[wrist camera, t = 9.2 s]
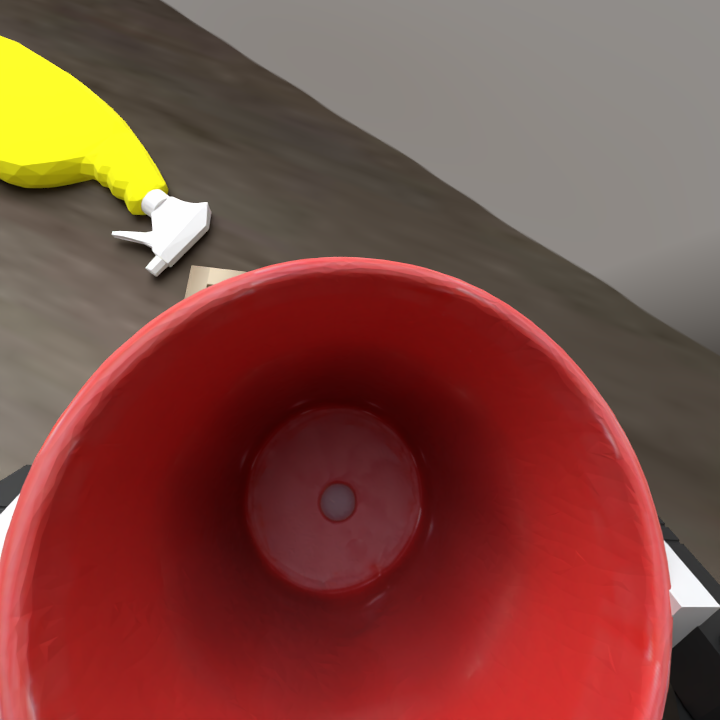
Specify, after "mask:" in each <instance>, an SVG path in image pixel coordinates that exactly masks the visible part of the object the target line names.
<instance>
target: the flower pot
mask: <svg viewBox="0 0 720 720" xmlns="http://www.w3.org/2000/svg"><path fill="white" fill-rule="evenodd" d="M670 589H671V582H670V575H669V568H668V561H667V555H666V550H665V545H664V539H663V534H662V530H661V526H660V523H659V519H658V516H657V512H656V508H655V505H654V502H653V499H652V496H651V492H650V489H649V486H648V483H647V481H646V478H645V476H644V473H643V471H642V468H641V466H640V463H639V461H638V458H637V456H636V454H635V452H634V450H633V448H632V446H631V444H630V442H629V440H628V438H627V436H626V434H625V432H624V431H623V429H622V427H621V426H620V424H619V422H618V420H617V419H616V417H615V415H614V413H613V412H612V410H611V409H610V407H609V406H608V404H607V403H606V402H605V400H604V399H603V398H602V396H601V395H600V393H599V392H598V391H597V389H596V388H595V386H594V385H593V384H592V383H591V381H590V380H589V379H588V378H587V376H586V375H585V374H584V373H583V371H582V370H581V369H580V368H579V367H578V366H577V364H576V363H575V362H574V361H573V360H572V359H571V358H570V357H569V356H568V354H567V353H566V352H565V351H564V350H563V349H562V348H561V347H560V346H559V345H557V344H556V343H555V342H554V341H553V340H552V339H551V338H550V337H549V336H548V335H547V334H546V333H544V332H543V331H542V330H541V329H540V328H539V327H537V326H536V325H535V324H534V323H533V322H532V321H530V320H529V319H528V318H526V317H525V316H523V315H522V314H521V313H519V312H518V311H516V310H515V309H514V308H512V307H511V306H509V305H508V304H506V303H505V302H503V301H501V300H499V299H498V298H496V297H494V296H492V295H491V294H489V293H487V292H486V291H484V290H482V289H479V288H477V287H475V286H473V285H471V284H468V283H466V282H464V281H462V280H460V279H457V278H455V277H452V276H449V275H446V274H443V273H440V272H436V271H433V270H430V269H427V268H423V267H419V266H415V265H410V264H405V263H400V262H394V261H388V260H381V259H370V258H359V257H324V258H312V259H301V260H295V261H289V262H284V263H279V264H275V265H270V266H267V267H263V268H260V269H257V270H253V271H250V272H247V273H244V274H241V275H238V276H235V277H232V278H229V279H226V280H224V281H221V282H219V283H217V284H214V285H212V286H210V287H207V288H205V289H203V290H200V291H199V292H197V293H195V294H193V295H191V296H190V297H188V298H186V299H184V300H182V301H181V302H179V303H177V304H176V305H174V306H172V307H171V308H169V309H168V310H166V311H165V312H163V313H162V314H160V315H159V316H158V317H156V318H155V319H153V320H152V321H150V322H149V323H148V324H146V325H145V326H144V327H143V328H142V329H140V330H139V331H138V332H137V333H136V334H134V335H133V336H132V337H131V338H130V339H129V340H128V341H126V342H125V343H124V344H123V345H122V346H121V347H119V348H118V349H117V350H116V351H115V352H114V353H113V354H112V355H111V356H110V357H109V358H107V359H106V360H105V361H104V362H103V364H102V365H101V366H100V367H99V368H98V369H97V370H96V372H95V373H94V374H93V375H92V376H91V377H90V379H89V380H88V381H87V382H86V383H85V385H84V386H83V387H82V388H81V389H80V391H79V392H78V394H77V395H76V396H75V398H74V399H73V400H72V402H71V403H70V404H69V406H68V407H67V408H66V410H65V411H64V412H63V413H62V415H61V416H60V418H59V419H58V421H57V422H56V424H55V425H54V427H53V428H52V430H51V432H50V433H49V435H48V437H47V439H46V440H45V442H44V444H43V446H42V447H41V449H40V451H39V453H38V454H37V456H36V458H35V460H34V462H33V464H32V466H31V469H30V471H29V473H28V475H27V478H26V480H25V482H24V484H23V486H22V489H21V492H20V495H19V498H18V501H17V504H16V507H15V510H14V513H13V516H12V519H11V522H10V525H9V528H8V530H7V533H6V537H5V541H4V545H3V548H2V553H1V557H0V720H662V718H663V713H664V708H665V704H666V699H667V694H668V689H669V681H670V667H671V654H672V631H673V617H672V615H671V604H670V596H669V590H670Z"/></svg>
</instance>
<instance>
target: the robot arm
mask: <svg viewBox="0 0 720 720" xmlns="http://www.w3.org/2000/svg"><path fill="white" fill-rule="evenodd" d="M31 466H32V465H25V466H24V467H22V468H21V469H19V470H17V471H16V472H14V473H12V474H11V475H9V476H8V477H6V478H4V479H3V480H1V481H0V557H1V553H2V548H3V545H4V541H5V537H6V533H7V530H8V528H9V525H10V522H11V519H12V516H13V513H14V510H15V507H16V504H17V501H18V498H19V495H20V492H21V489H22V486H23V484H24V482H25V480H26V478H27V475H28V473H29V471H30V469H31ZM657 516H658V515H657ZM658 519H659V523H660V526H661V530H662V534H663V539H664V545H665V550H666V555H667V561H668V568H669V575H670V582H671V589H670V590H669V596H670V604H671V615H672V617H673V631H672V654H671V667H670V681H669V689H668V694H667V699H666V704H665V708H664V713H663V718H662V720H720V585H719V584H718V583H717V581H716V580H715V579H714V578H713V577H712V576H711V575H710V574H709V572H708V571H707V570H706V569H705V568H704V567H703V566H702V565H701V563H700V562H699V561H698V560H697V559H696V558H695V557H694V556H693V555H692V553H691V552H690V551H689V550H688V549H687V548H686V547H685V546H684V544H680V543H679V539H678V538H677V537H676V536H675V534H674V533H673V532H672V531H671V530H670V529H669V528H668V527H665V523H664V522H663V521H662V520H661V519H660V518H659V516H658Z"/></svg>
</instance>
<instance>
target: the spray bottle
mask: <svg viewBox="0 0 720 720" xmlns="http://www.w3.org/2000/svg"><path fill="white" fill-rule="evenodd" d="M0 179H2V180H3V181H5V182H7V183H9V184H13V185H17V186H21V187H24V188H51V187H59V186H64V185H69V184H74V183H79V182H83V181H88V180H92V179H94V180H97V181H98V182H99V183H100V184H101V185H102V186H104V187H108V188H110V190H111V193H112V195H114V196H115V197H116V198H119V199H122V200H125V203H126V205H127V208H128V210H129V211H130V212H131V214H132V215H148V216H150V217H151V218H152V229H153V231H151V232H147V233H143V232H128V231H112V235H113V236H114V237H116V238H120V239H124V240H128V241H133V242H137V243H141V244H144V245H146V246H148V247H150V248H152V251H153V252H154V254H155V255H156V256H155V257H154V258H153V260H152V261H151V262H150V263H149V264H148V266H147V267H146V269H147V270H148V271H149V272H150V273H151V274H153V275H155V276H158V275H159V274H160V273H161V272H162V271H164V270H165V269H166V268H167V267H168V266H169V267H172V266H173V265H174V264H175V263H176V262H177V261H178V260H179V259H180V258H181V257H182V256H183V255H184V254H185V253H186V252H187V251H188V250H189V249H190V248H191V247H192V246H193V245H194V244H195V243H196V242H197V241H198V240H199V239H200V238H201V237H202V236H203V235H204V234H205V233H206V232H207V231H208V230H209V225H210V219H211V210H210V208H209V205H208V203H207V202H204V203H189V202H184V201H181V200H179V199H177V198H174V197H169V196H168V195H167V194H168V188H167V185H166V183H165V181H164V179H163V177H162V176H161V174H160V172H159V170H158V168H157V166H156V165H155V163H154V162H153V160H152V159H151V157H150V156H149V154H148V153H147V151H146V149H145V148H144V146H143V145H142V144H141V142H140V141H139V140H138V138H137V137H136V136H135V134H134V133H133V132H132V130H131V129H130V128H129V126H128V125H127V123H126V122H125V121H124V120H123V119H122V118H121V117H120V116H119V115H118V114H117V113H116V112H115V111H114V110H113V109H112V108H111V107H110V106H109V105H108V104H106V103H105V102H104V101H103V100H102V99H100V98H99V97H98V96H97V95H96V94H95V93H93V92H92V91H91V90H90V89H89V88H87V87H86V86H85V85H84V84H82V83H81V82H80V81H78V80H77V79H76V78H74V77H73V76H72V75H70V74H68V73H67V72H65V71H64V70H62V69H60V68H59V67H57V66H55V65H54V64H52V63H50V62H49V61H47V60H45V59H44V58H42V57H41V56H39V55H37V54H36V53H34V52H32V51H31V50H29V49H27V48H26V47H24V46H23V45H21V44H19V43H17V42H15V41H12V40H10V39H7V38H4V37H2V36H0Z"/></svg>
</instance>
